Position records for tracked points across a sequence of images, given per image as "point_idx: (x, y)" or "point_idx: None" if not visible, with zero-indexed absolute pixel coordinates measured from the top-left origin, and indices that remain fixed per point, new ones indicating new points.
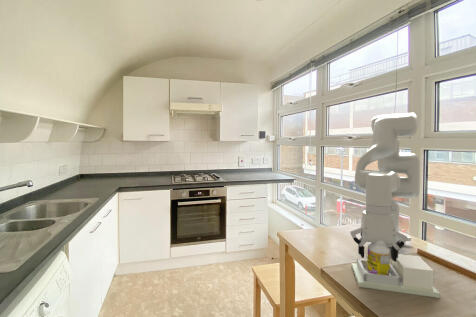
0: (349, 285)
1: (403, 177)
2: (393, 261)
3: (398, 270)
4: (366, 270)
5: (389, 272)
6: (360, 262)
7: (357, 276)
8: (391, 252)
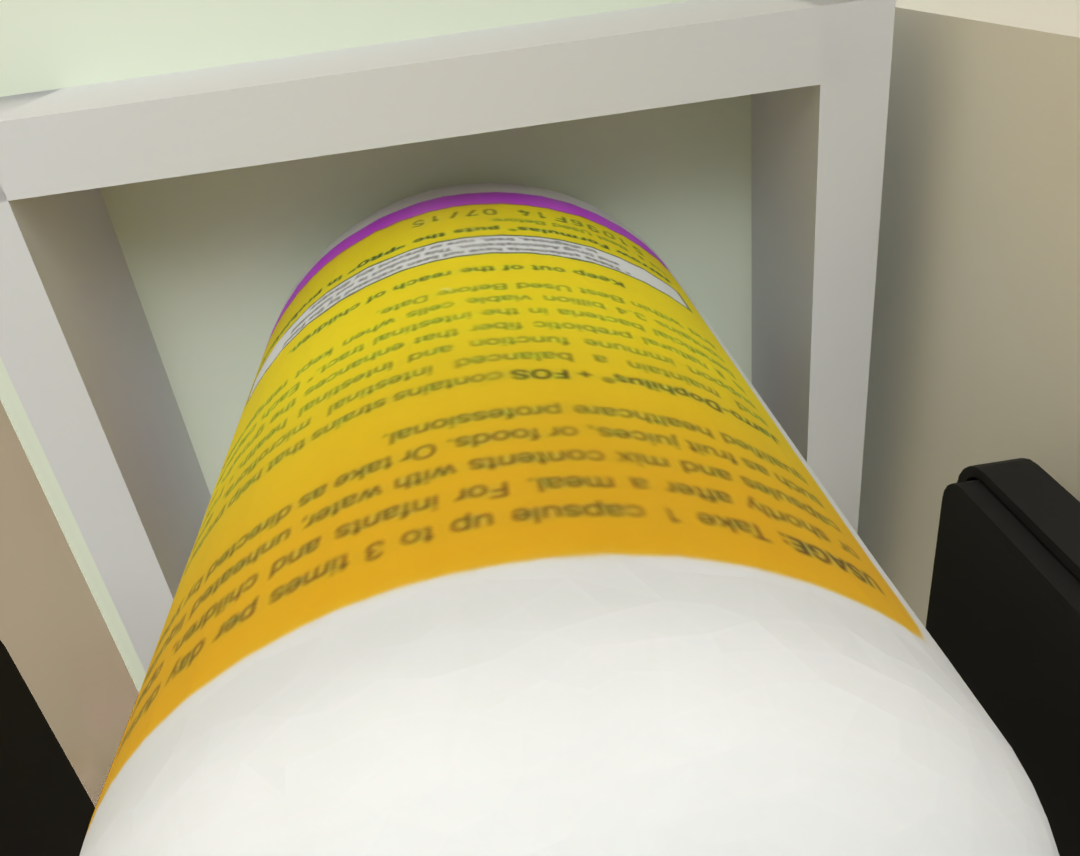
0: (46, 712)
1: None
2: (997, 157)
3: (919, 490)
4: (257, 304)
5: (751, 190)
6: (54, 372)
7: (112, 607)
8: (1063, 660)
